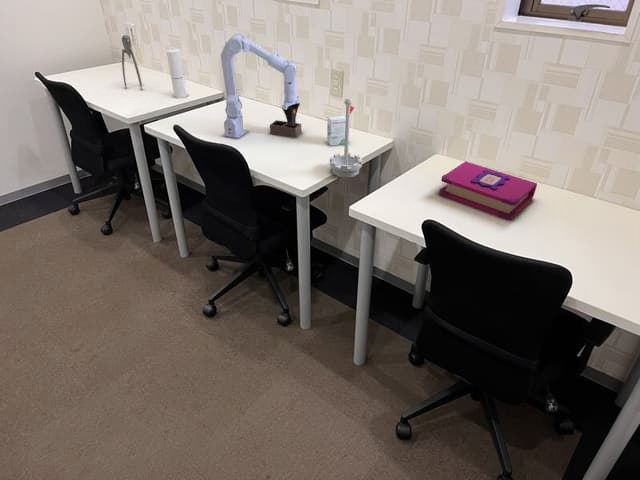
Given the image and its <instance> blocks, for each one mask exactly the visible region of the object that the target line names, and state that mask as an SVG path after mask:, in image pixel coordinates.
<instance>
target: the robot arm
mask: <svg viewBox="0 0 640 480" xmlns="http://www.w3.org/2000/svg"><path fill="white" fill-rule="evenodd" d="M241 52H242V53H250V52H251V53H252V54H254V55H256V56H258V57H259V58H262V59H263V60H265V61H266V62H267V65H268V66H270V68H272V69H274V70H276V71H277V72H279V73H282V76H283V94H284V96H283V97H284V100H283V102H282V103H283V104H281V110H282V111H283V113H284V116H285V118H286V122H292V115H293V111H294V109H295V113H296V115H297V114H298V110H299V108H300V106H301V103H300V96H298V87H297V86H298V85H297V84H298V83H297V71H298V70H297V66H296V64H295V63H294V62H293V61H290V60H289V59H286V58H284V57H282V56H280V55H281V54H279V53H278V52H277V53H276V52H273V53H272V52H271V53H270V52H269V51H268V50H266V49H265V48H263V47H262V46H260V45H258V44H257V43H256V42H254V40H253V41H252V40H251V39H250V38H249V37H247V36H244V35H242V34H241V33H235V34H233V35H232V36H231V37H230V38H229V39H228V40H227V41H226V42H225V44H224V47H223V49H222V51H221V53H220V61H221V68H222V74H223V81H224V87H225V94H226V97H225V99H226V101H225V105H226V106H225V109H224V110H225V114H226V119H225V120H224V122H223V128H224V134H223V137H228V138H233V139H239V138H241V137H242V136H243V135H245V134H246V133H248V130H246V129H245V128H244V118H243V112H242V108H243V103H242V101H241V99H240V95H239V93H238V88H237V80H236V73H235V67H234V59H233V58H234V57H235V56H236V55H237V54H239V53H241Z"/></svg>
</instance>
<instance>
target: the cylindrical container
mask: <svg viewBox="0 0 640 480" xmlns="http://www.w3.org/2000/svg"><path fill="white" fill-rule="evenodd" d="M166 56H167V61H168V67H169V68H168V69H169V73H170V79H171V84H172V91H173V96H174V98H177V99H180V98H186V97H187V96H188V94H187V87H186V80H185V74H184V68H183V62H182V55H181V50H180V49H167V50H166Z"/></svg>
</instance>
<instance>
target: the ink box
mask: <svg viewBox="0 0 640 480" xmlns="http://www.w3.org/2000/svg"><path fill="white" fill-rule="evenodd" d="M345 123H346V115H339V116H329V117H327V123H326V124H327V125H326V127H327V130H326V131H327V132H326V135H327V136H326V143H327V144H328V145H329V146H340V145H345Z"/></svg>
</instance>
